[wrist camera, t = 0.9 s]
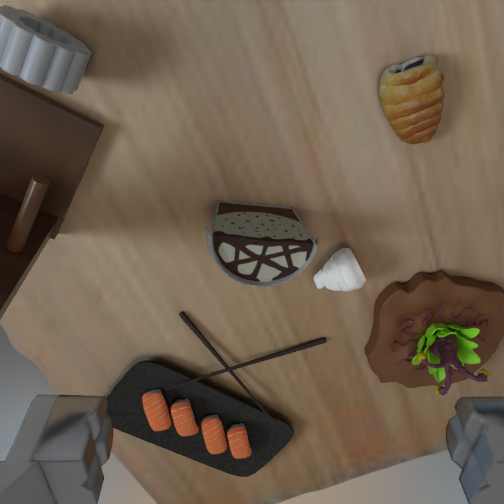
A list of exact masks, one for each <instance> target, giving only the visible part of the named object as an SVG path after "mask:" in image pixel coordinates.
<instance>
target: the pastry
mask: <svg viewBox="0 0 504 504" xmlns="http://www.w3.org/2000/svg"><path fill="white" fill-rule="evenodd" d="M443 79H444V76H443V73H442V71H441V70H440V68H439V66H438V63H437V57H436V56H434V55H431V54H430V55H427V56H425V57H415V58H412V59H410V60H409V61H406V62H405V63H403V64H401V65H399V64H395V65H392V66H390V67H388V68H387V69H386V70H385V71H384V72H383V74H382V76H381V80H380V88H379V98H380V101H381V103H382V106H383V109H384V112H385V115H386V117H387V118H388V120H389V122H390V123H391V125H392V127H393V129H394V131H395V132H396V134H397V135H398V136H399V137H400V139H401V140H402V141H405V142H406V143H409V144H418V143H425V142H428V141H430V140H431V138H432V136H433V135H434V134H435V132H436V130H437V126H438V124H439V123H440V121H441V111H442V109H443V98H444V91H443V89H442V82H443Z"/></svg>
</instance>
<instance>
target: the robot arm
mask: <svg viewBox="0 0 504 504" xmlns="http://www.w3.org/2000/svg"><path fill="white" fill-rule="evenodd" d="M107 408H108V402H107V399H106V396H84V395H37V396H36V397H35V398H34V399H33V400H32V402H31V404H30V406H29V408H28V411H27V413H26V415H25V417H24V420H23V422H22V424H21V426H20V428H19V431H18V433H17V435H16V437H15V440H14V442H13V444H12V446H11V449H10V451H9V453H8V455H7V457H6V460H5V461H0V504H97V503H98V500H99V496H100V492H101V488H102V484H103V480H104V475H103V472H102V468H101V466H102V465H103V464H104V463H105V462H106V461H107V460H108V459H109V456H110V452H111V448H112V441H113V423H112V419H111V417H110V416H109V415H107V414H106V412H107ZM455 410H456V412H457V414H456V415H455V416H453V417H452V418H450V419H449V422H448V424H447V427H446V442H447V446H448V451H449V453H450V456H451V459H452V460H453V461H454V462H455V463H456V464H457V465H458V466H459V467H460V468H461V469H462V471H461V474H460V477H459V480H460V483H461V485H462V488H463V490H464V493H465V495H466V498H467V501H468V503H469V504H504V397H461V398H459V399H458V400H457V402H456V404H455Z"/></svg>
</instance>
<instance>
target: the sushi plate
mask: <svg viewBox="0 0 504 504" xmlns="http://www.w3.org/2000/svg"><path fill="white" fill-rule="evenodd" d="M179 315H180V317H181V318H182V319H183V321H184V322H185V323H186V324H187V325H188V326H189V327H190V329H191V330H192V331H193V332H194V333H195V334H196V335H197V337H198V338H199V339H200V340H201V341H202V342H203V343H204V345H205V346H206V347H207V348H208V349H209V350H210V351H211V352H212V354H213V355H214V356H215V357H216V358H217V359H218V360H219V361H220V362H221V364H222V365H223V366H224V367H225V368H226V369H223V370H220V371H217V372H214V373H211V374H207V375H204V376H201V377H198V378H195V379H194V378H192V377H190V376H188V375H186V374H184V373H181V372H179V371H177V370H175V369H173V368H170V367H168V366H165V365H163V364H160V363H157V362H153V361H142V362H139V363H137V364H136V365H134V366H133V367H132V368H131V369H130V370H129V371H128V372H127V373H126V374H125V375H124V377H123V378H122V379H121V380H120V382H119V383H118V384H117V385H116V387H115V388H114V389H113V390H112V392H111V393H110V394H109V396H108V397H107V398H106V399H107V402H108V408H107V412H106V414H107V415H109V416H110V417H111V419H112V423H113V428H115V429H118V430H120V431H122V432H125V433H127V434H130V435H132V436H135V437H137V438H140V439H142V440H145V441H147V442H150V443H152V444H155V445H157V446H160V447H163V448H165V449H168V450H170V451H173V452H175V453H178V454H180V455H183V456H185V457H188V458H190V459H193V460H195V461H198V462H200V463H203V464H205V465H208V466H211V467H213V468H216V469H218V470H221V471H223V472H226V473H229V474H232V475H236V476H241V477H247V476H250V475H252V474H254V473H256V472H257V471H258V470H260V469H261V468H262V467H263V466H264V465H265V464H267V463H268V462H269V461H270V460H271V459H272V458H273V457H274V456H275V455H276V454H277V453H278V452H279V451H280V450H281V449H282V448H283V447H284V446H285V445H286V444H287V443H288V442H289V441H290V439H291V438H292V436H293V433H294V430H293V428H292V427H291V426H290V425H289V424H288V423H286V422H285V421H283V420H281V419H279V418H277V417H275V416H273V415H271V414H269V413H268V412H267V411H266V410H265V409H264V408H263V407H262V405H261V404H260V403H259V402H258V401H257V399H256V398H255V397H254V396H253V395H252V394H251V392H250V391H249V390H248V389H247V388H246V386H245V385H244V384H243V383H242V382H241V381H240V379H239V378H238V377H237V376H236V375H235V373H234V372H233V371H232V370H234V369H237V368H241V367H244V366H247V365H251V364H254V363H258V362H261V361H265V360H268V359H272V358H275V357H279V356H282V355H286V354H289V353H292V352H296V351H299V350H303V349H306V348H309V347H313V346H316V345H319V344H323V343H325V342H327V341H326V338H320V339H317V340H314V341H310V342H307V343H304V344H301V345H298V346H295V347H292V348H288V349H285V350H282V351H279V352H276V353H273V354H270V355H267V356H264V357H261V358H258V359H255V360H252V361H248V362H245V363H242V364H239V365H236V366H233V367H229V366H228V365H227V364H226V363H225V361H224V360H223V359H222V358H221V356H220V355H219V354H218V353H217V352H216V350H215V349H214V348H213V347H212V346H211V344H210V343H209V342H208V341H207V340H206V338H205V337H204V336H203V335H202V334H201V332H200V331H199V330H198V329H197V328H196V326H195V325H194V324H193V323H192V322H191V321H190V319H189V318H188V317H187V316H186V315H185V313H184V312H181V313H179ZM227 371H229V373H230V374H231V375H232V376H233V377H234V378H235V379H236V381H237V382H238V383H239V384H240V385H241V386H242V387H243V389H244V390H245V391H246V392H247V393H248V394H249V395H250V397H251V398H252V399H253V400H254V401H255V402H256V403H257V405H258V406H259V407H260V408H261V409H262V410H261V409H259V408H256V407H254V406H252V405H250V404H248V403H246V402H244V401H241V400H239V399H237V398H235V397H233V396H231V395H229V394H226V393H224V392H222V391H220V390H218V389H216V388H214V387H211V386H209V385H207V384H205V383H203V382H201V381H199V380H201V379H204V378H207V377H211V376H214V375H217V374H221V373H224V372H227Z"/></svg>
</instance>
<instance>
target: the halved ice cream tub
mask: <svg viewBox="0 0 504 504" xmlns="http://www.w3.org/2000/svg"><path fill="white" fill-rule="evenodd" d="M206 241H207V245H208V248H209V251H210V253H211V255H212V257H213V259H214V261H215V263H216V264H217V266H218V267H219V268H220V269H221V270H222V271H223V272H224V273H225V274H226V275H228V276H229V277H230V278H232V279H234V280H235V281H237V282H240V283H242V284H245V285H249V286H255V287H268V286H275V285H278V284H282V283H284V282H287V281H289V280H291V279H292V278H294V277H296V276H297V275H298V274H300V273H301V272H302V271H303V270H304V269H305V268H306V267H307V266H308V265H309V263H310V262H311V260H312V259H313V257H314V255H315V253H316V250H317V247H318V244H319V241H318V238H317V239H316V242H315V241H314V239H313V237H312V236H311V234H310V233H309V231H308V230H307V228H306V226H305V225H304V223H303V222H302V220H301V219H300V217H299V215H298V214H297V212H296V211H295V209H294V208H293V207H284V206H273V205H263V204H252V203H242V202H231V201H221V200H218V203H217V207H216V212H215V217H214V222H213V227H212V232H211V234H210V233H209V231H208V229H207V228H206Z"/></svg>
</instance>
